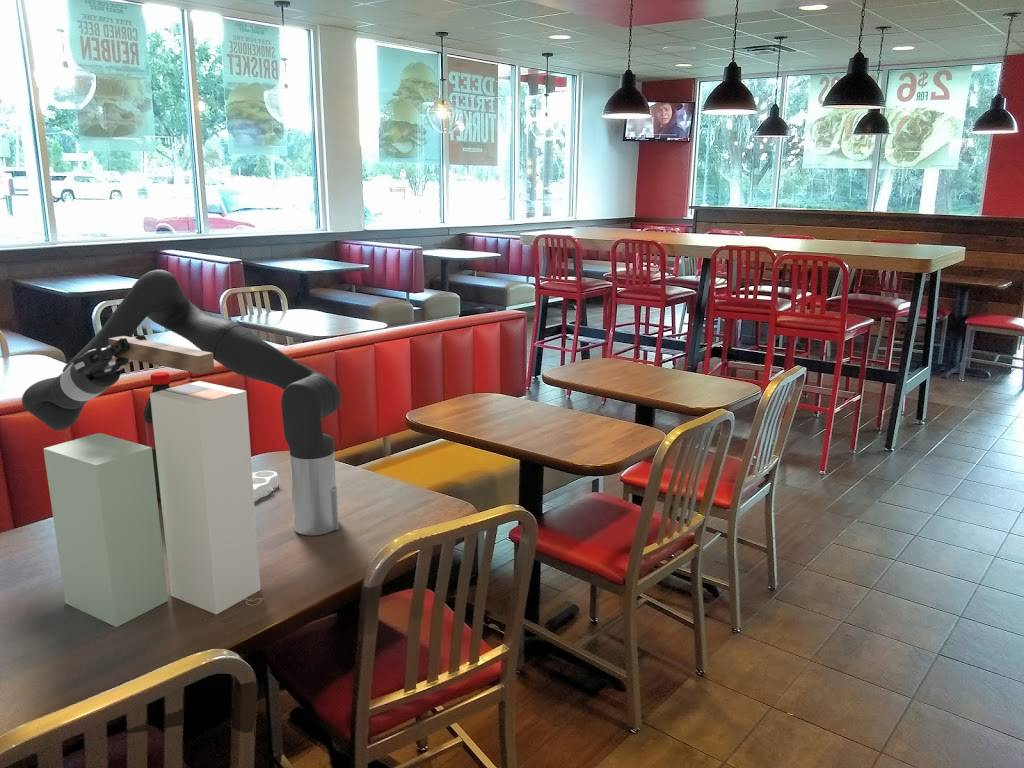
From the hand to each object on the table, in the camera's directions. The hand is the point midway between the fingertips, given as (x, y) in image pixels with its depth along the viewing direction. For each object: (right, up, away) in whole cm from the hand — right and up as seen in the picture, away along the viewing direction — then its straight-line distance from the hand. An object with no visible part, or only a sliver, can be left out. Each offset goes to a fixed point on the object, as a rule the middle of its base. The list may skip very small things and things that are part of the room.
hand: (135, 341), depth 141 cm
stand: (+13, -46, +4) cm, 48 cm away
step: (-3, -46, 0) cm, 47 cm away
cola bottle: (-13, -34, +46) cm, 59 cm away
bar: (+6, -4, -2) cm, 7 cm away
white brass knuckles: (+3, -34, +49) cm, 60 cm away
